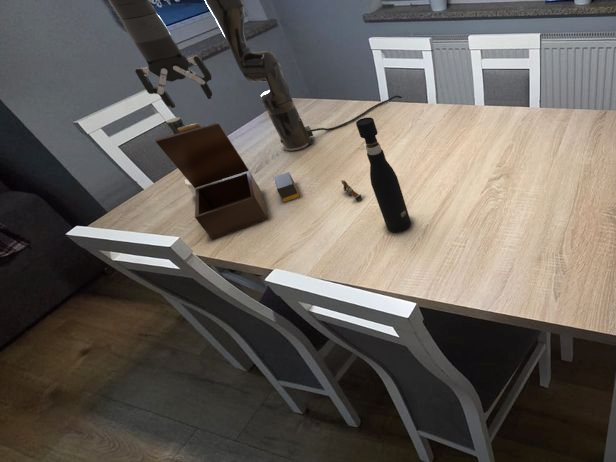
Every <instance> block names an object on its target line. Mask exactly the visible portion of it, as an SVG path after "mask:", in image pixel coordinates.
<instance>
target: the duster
mask: <svg viewBox="0 0 616 462" xmlns="http://www.w3.org/2000/svg"><path fill="white" fill-rule="evenodd" d="M273 181H274V184H275V187H276V190H277V192H278V194H279V196H280V198H281V199H282V201H283V202H284V203H286V202H288V201H291V200H295V199H297V198H300V194H299V191H298V188H297V185H296V183H295V181H294V179H293V178H292V175H291V173H290V172H289V171H287V172H284V173H281V174H278V175H275V176H273Z"/></svg>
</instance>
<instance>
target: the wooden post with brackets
mask: <svg viewBox="0 0 616 462" xmlns="http://www.w3.org/2000/svg"><path fill="white" fill-rule="evenodd" d="M340 182H341V184H342V186H343V191H344V192H346V194H348V196H353V197H354V198H355V202H358V201H360V200H361V199H362V198H363V197H362V194H361V193H360V194H359V193H358V192H356V191H354V188H352V187H351V186H350V185H349V184H348V183H347V181H346V180H344V179H341V181H340Z"/></svg>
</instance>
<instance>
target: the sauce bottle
mask: <svg viewBox="0 0 616 462" xmlns="http://www.w3.org/2000/svg"><path fill="white" fill-rule="evenodd" d="M165 123H166V124H167V127H169V128H170V129H171V131H172V132H173V135H174V134H178V133H179V131H178V129H177V128H180V127H183V126H185V124H184V122H183V120H182V118H181V117H173V118H169V119H168V120H166V121H165Z"/></svg>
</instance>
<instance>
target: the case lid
mask: <svg viewBox="0 0 616 462" xmlns="http://www.w3.org/2000/svg"><path fill="white" fill-rule="evenodd" d="M177 129H178V131H179V133H178V134H174V133H173V134H171V135H166V136H163V137H160V138H156V139H155V140H154V142H155V143H156V144H157V145H158V147H159V148H160V149H161V150H162V151H163V152H164V154H165V155H166V156H167V157H168V159H169V160H170V161H171V162H172V163H173V164H174V165H175V167H176V168H177V169H178V170H179V171H180V173H181V174H182V176H184V178H185V179H186V178H187V180H188V181H189V182H190V183H191V184H192V186H193V187H194V188H197V187H200V186H203V185H206V184H210V183H213V182H216V181H219V180H224V179H228V178H231V177H234V176H237V175H240V174H243V173H247V172H249V171H250V169H249V168H248V166H247V164H246V163H245V161H244V160H243V158H242V157H241V155H240V153H239V152H238V151H237V149H236V147H235V146H234V145H233V142H232V141H231V140H230V138H229V136H228V135H227V134H226V132H225V130H224V129H223V127H222V126H221V124H220V122H214V123H211V124H207V125H203V126H202V125H201V124H200V122H195V123H191V124H187V125H184V126H183V127H180V128H177Z"/></svg>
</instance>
